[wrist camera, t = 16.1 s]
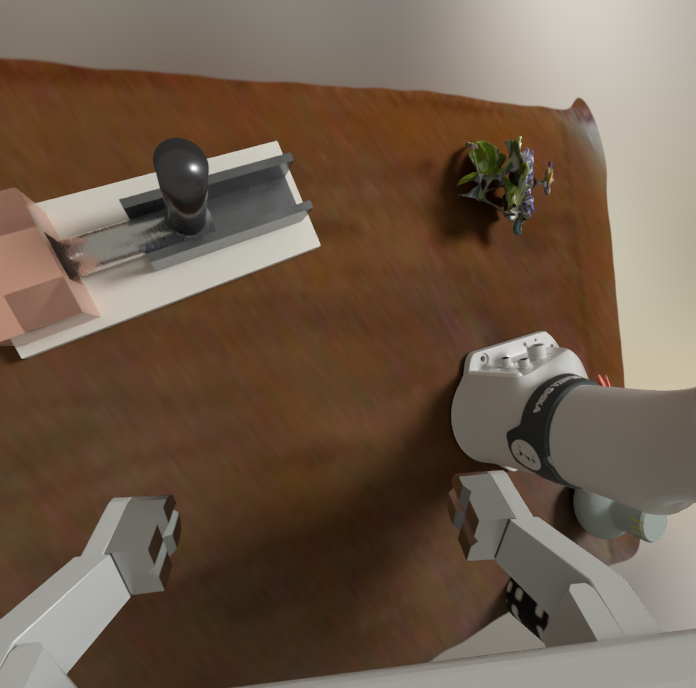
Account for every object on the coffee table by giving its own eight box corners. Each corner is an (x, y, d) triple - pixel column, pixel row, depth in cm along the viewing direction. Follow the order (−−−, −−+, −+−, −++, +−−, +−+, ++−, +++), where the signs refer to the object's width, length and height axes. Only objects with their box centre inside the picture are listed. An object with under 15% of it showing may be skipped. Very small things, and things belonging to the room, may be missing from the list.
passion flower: (476, 212, 59) (541, 239, 51) (426, 212, 54) (492, 242, 46) (504, 132, 53) (583, 149, 45) (451, 122, 47) (532, 139, 40)
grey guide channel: (280, 172, 41) (290, 152, 37) (301, 221, 42) (313, 207, 37) (128, 216, 35) (118, 199, 31) (156, 271, 36) (150, 262, 32)
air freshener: (601, 457, 63) (671, 477, 53) (613, 500, 64) (683, 527, 54) (557, 488, 59) (624, 516, 50) (570, 534, 60) (638, 569, 51)
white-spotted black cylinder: (516, 557, 56) (674, 665, 37) (553, 568, 59) (717, 673, 40) (498, 613, 55) (652, 754, 36) (537, 622, 57) (698, 756, 39)
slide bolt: (200, 205, 37) (201, 131, 24) (215, 236, 37) (223, 180, 24) (16, 260, 32) (-113, 204, 19) (35, 295, 32) (-77, 265, 19)
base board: (274, 147, 42) (277, 140, 41) (317, 248, 44) (320, 245, 43) (-44, 231, 32) (-55, 227, 31) (29, 358, 34) (21, 358, 33)
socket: (46, 213, 33) (15, 187, 28) (101, 316, 35) (82, 312, 29) (-40, 236, 31) (-93, 213, 25) (23, 345, 33) (-13, 346, 27)
